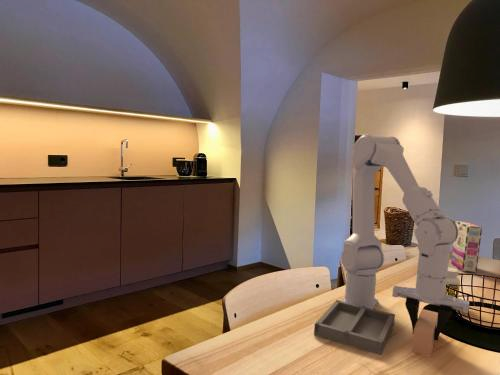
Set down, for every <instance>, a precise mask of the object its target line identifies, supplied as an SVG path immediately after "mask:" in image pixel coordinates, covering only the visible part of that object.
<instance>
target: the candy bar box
mask: <svg viewBox="0 0 500 375" xmlns="http://www.w3.org/2000/svg"><path fill="white" fill-rule="evenodd" d="M455 223H456V225H457V228H458V237H457V239H456V241H455V242H453V243H452V252H451V261H450V262H451V263H450V264H452V265H453V266H455V267H456V269H458V270H459V271H461V272H464V273H471V272H476V273H477V271H478V262H479V256H480V249H481V248H480V247H481V239H482V233H483V232H482V231H483V227H482V226H480V225H477V224H474V223H472V222H469V221H460V220H459V221H457V220H455Z"/></svg>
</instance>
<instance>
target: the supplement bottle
mask: <svg viewBox="0 0 500 375" xmlns="http://www.w3.org/2000/svg"><path fill="white" fill-rule="evenodd" d="M458 276H459V269H458V268H454V267H449V266H448V273H447V282H446V285H447V286H449V287H451V288H453V289H455V290H457V291H459V292H457V298H459V294H460V286H461V280H460V279H459V278H458ZM445 294H446V295H447V289H446V291H445ZM449 296H452V297H455V292H454V291H453V290H451V289H449ZM455 298H456V297H455Z"/></svg>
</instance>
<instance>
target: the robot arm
mask: <svg viewBox="0 0 500 375" xmlns="http://www.w3.org/2000/svg"><path fill="white" fill-rule="evenodd" d="M400 142H401V141H399V139H398V138H397V137H396V136H381V135H380V136H379V135H370V134H362V135H361V136H359V138H358V139H357V140H356V141H355V142H354V143H353V162H352V163H353V165H352V234H351V235H349V237H347V238H346V239H345V240H344V241H343V247H342V248H343V249H342V252H341V256H340V259H341V263H342V264H341V265H342V266H343V268H344V270H345V271H346V281H345V293H344V297H343V299H342V300H341V301H343V302H347V303H351V304H355V305H359V306H363V307H367V308H371V309H375V307H376V305H377V303H378V302H379V299H378V298H376V297H375V295H376V285H377V276H376V275H377V273H379V269H380V268H382V267H383V265H384V262H385V256H384V252H383V249H382V241H381V239H379V238H378V237H377V236H376V235H375V192H376V190H375V180H376V179H375V178H376V177H375V175H376V174H377V173H378V172H379V170H380V169H383V168H386V169H387V170H388V172H389V173H390V175H391V177H392V178H393V179H394V181H395V182H396V184H397V185H398V187H399V188H400V189H401V191H402V192H403V195H402V199H401V200H402V203H403V205H404V206H405V209H406V210H407V212H408V214H409V215H410V217H411V219H412V220H413V222H414V224H415V226H416V228H414V235H415V239H416V241H417V250H418V259H417V260H418V261H417V270H416V278H415V279H416V281H415V287H408V286H407V287H406V286H399V285H393V287H392V296H391V297H393V298H403V299H405V303H404V305H405V309H406V310H407V313H408V315H409V320H410V322H411V323H410V324H411V328H412V334H413V333H414V327H415V325H416V322H417V320H418V318H419V309H420V303H425V304H429V305H433V306H438V310H437V313H438V318H437V326H436V331H435V337H434V340H435V341H436V342H438V341H439V337H440V334H441V331H442V330H443V328H444V326H445V324H446V323H447V322H448V320H449V319H450V318H451V316H452V314H453V310H456V311H461V312H462V313H465V314H469V310H470V307H469V306H470V301H469V300H466V299H461V298H460V297H458V298H455V297H452V296H449V295H446V294H445V291H446V282H447V273H448V267H449V263H450V255H451V254H450V253H451V244H452V245H453V243H454V242H455V241H456V239H457V237H458V228H457V225H456V220H454V219H452V218H451V217H449V216H446V214H445V213H444V212H443V211H442V210H441V209H440V207H439V206H438V204H437V202H436V201H435V199H434V198H433V196H434V195H433V192H432V191H431V190H428V189H427V188H426V187H422V186H420V185H419V184H418V182H417V180H416V177H415V176H414V174H413V172H412V170H411V168H410V166H409V164H408V163H407V160H406V158H405V156H404V150H405V148H404V146H403V145H402V144H401V143H400Z"/></svg>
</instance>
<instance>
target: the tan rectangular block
mask: <svg viewBox="0 0 500 375" xmlns="http://www.w3.org/2000/svg"><path fill="white" fill-rule="evenodd" d="M437 318H438V311H437V312H436V311H432V310H428V309H424V308H421V311H420V313H419V314H418V320H417V322H416V325H415V327H414V333H413V332H412V335H413V337H412V342H411V343H412V344H411V353H414V354H418V355H422V356H424V357H428V358H431V357H432V353H433V348H434V346H435V341H436V340H434V337H435V331H436V326H437Z"/></svg>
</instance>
